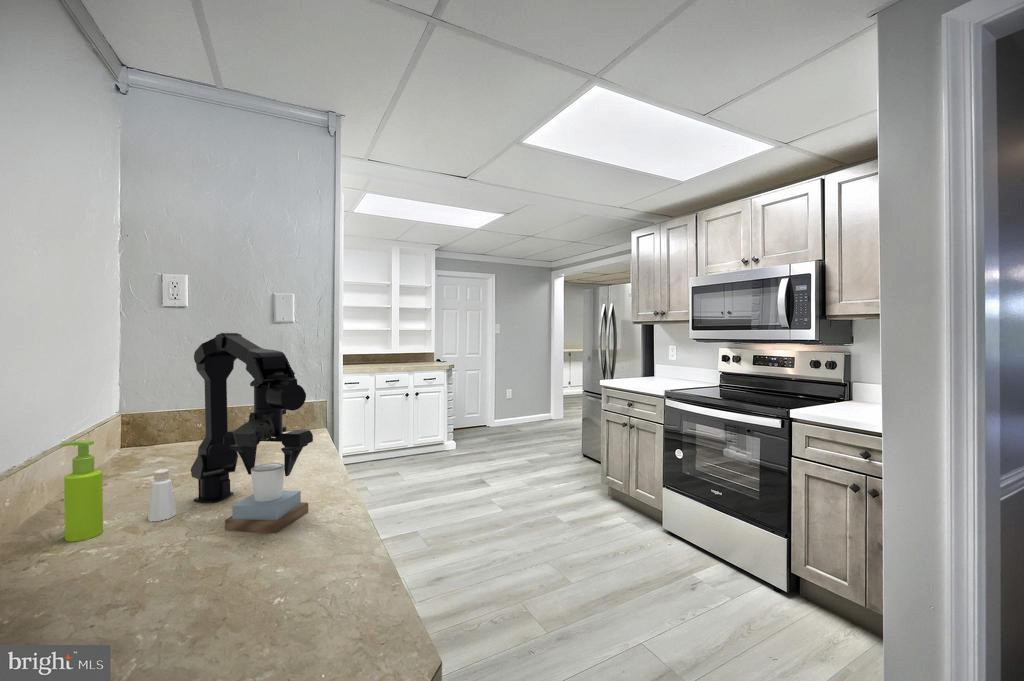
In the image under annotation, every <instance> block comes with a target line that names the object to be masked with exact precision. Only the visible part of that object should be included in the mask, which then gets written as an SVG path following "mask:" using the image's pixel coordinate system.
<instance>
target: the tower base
mask: <svg viewBox="0 0 1024 681" xmlns="http://www.w3.org/2000/svg"><path fill="white" fill-rule="evenodd" d="M308 513H309V502H305V501H304V502H303V501H301V504H299V505H298V506H296V507H295V508H294V509H292V510H291V511H289V512H288V513H286V514H285V515H284V516H282V517H281V518H279V519H278V520H242V519H232V515H231V516H229V517H228V518H226V519H224V531H229V532H242V533H243V532H244V533H258V534H259V533H260V534H272V533H275V534H274V535H276V534H278V533H280V532H281V531H282V530H284V529H285V528H287V527H288V526H289V525H291V524H292V523H294V522H296V521H297V520H299V519H300V518H302V517H303V516H305V515H306V514H308ZM283 528H284V529H283ZM280 530H281V531H280ZM277 532H278V533H277Z"/></svg>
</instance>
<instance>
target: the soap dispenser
mask: <svg viewBox="0 0 1024 681" xmlns="http://www.w3.org/2000/svg"><path fill="white" fill-rule="evenodd" d="M94 443H95V441H94V440H74V441H73V440H72V441H70V442H65V443H62V444H61V443H60V444H59V447H62V448H63V447H67V446H77V456H75V457H74V458H72V459H71V460H72V472H71V473H69V474H67V475H65V476H64V477H63V481H64V482H63V486H64V489H63V490H64V495H63V496H64V500H63V501H64V541H66V542H70V543H71V542H81V541H86V540H90V539H93V538H95V537H98V536H100V535H101V534H103V532H104V519H103V518H104V511H103V510H104V507H103V504H104V503H103V502H104V501H103V500H104V497H103V493H104V492H103V470H99V469H95V455H92V454H90V448H89V447H90V446H91V445H94Z"/></svg>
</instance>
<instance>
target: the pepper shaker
mask: <svg viewBox="0 0 1024 681" xmlns="http://www.w3.org/2000/svg"><path fill="white" fill-rule="evenodd" d="M169 472H170V469H168V468H161V469H157V470H154V472H153V475H154V481H152V482H151V484H150V491H149V502H148V509H147V511H148V512H147V520H148V521H149V523H154V522H155V521H159V522H162V521H161V520H163V521H165V520H164V519H167V520H170V519H172V518H174V517H176V516H177V511H176V504H175V497H174V496H175V495H174V491H173V490H174V489H173V483H172V480H171V479H170V478H169ZM175 515H176V516H175ZM173 516H174V517H173ZM171 517H172V518H171ZM169 518H170V519H169ZM152 521H154V522H152ZM155 523H156V522H155Z"/></svg>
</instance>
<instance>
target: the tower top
mask: <svg viewBox="0 0 1024 681" xmlns="http://www.w3.org/2000/svg"><path fill="white" fill-rule="evenodd" d="M301 492H302V491H301V490H283V491H282V496H281V497H280V498H278V499H275V500H271V501H264V502H259V501H255V500H254V493H253V494H251V495H249V496H247V497H245V498H243V499H242V500H240V501H238V502H237V503H235V504H233V505H232V506H231V507H232V512H231V514H232V515H231V516H232V519H242V520H278V519H279V518H281V517H282V516H284V515H285V514H286V513H288V512H289V511H291V510H292V509H294V508H295V507H296V506H298V505H299V504H301V502H302V500H301V499H302V498H301V495H302V493H301Z"/></svg>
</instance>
